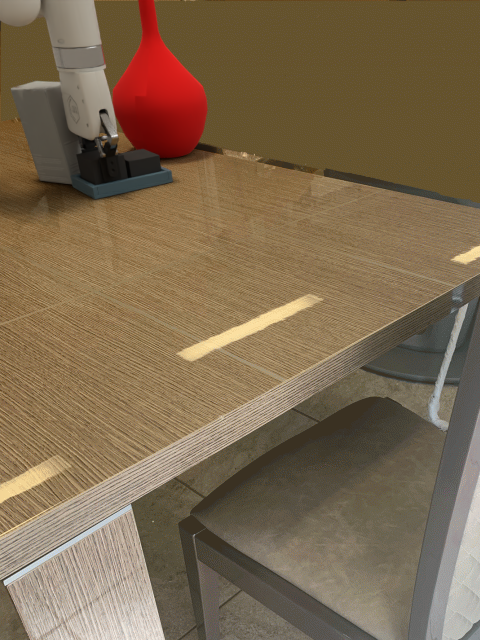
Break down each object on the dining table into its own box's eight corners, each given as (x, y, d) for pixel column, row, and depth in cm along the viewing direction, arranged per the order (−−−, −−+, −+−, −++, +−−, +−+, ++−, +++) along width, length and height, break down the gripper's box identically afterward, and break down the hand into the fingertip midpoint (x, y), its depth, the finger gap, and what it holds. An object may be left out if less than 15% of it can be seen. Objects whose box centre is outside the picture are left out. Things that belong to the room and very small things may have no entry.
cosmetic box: (96, 176, 119) (76, 81, 109) (69, 187, 114) (46, 88, 104) (61, 171, 122) (39, 77, 112) (33, 181, 117) (7, 84, 107)
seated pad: (132, 184, 113) (128, 161, 111) (117, 177, 117) (112, 154, 115) (162, 178, 116) (159, 155, 114) (146, 171, 120) (143, 148, 118)
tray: (95, 199, 109) (92, 187, 107) (72, 187, 114) (70, 175, 113) (173, 181, 116) (171, 170, 115) (148, 171, 122) (146, 160, 121)
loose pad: (96, 185, 109) (90, 161, 107) (81, 177, 113) (75, 154, 110) (128, 178, 112) (123, 154, 110) (112, 171, 116) (108, 148, 114)
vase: (106, 151, 133) (71, -24, 115) (181, 137, 143) (161, -27, 125) (150, 170, 122) (120, -20, 104) (229, 153, 132) (214, -24, 114)
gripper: (35, 55, 105) (63, 169, 116) (80, 67, 94) (105, 192, 105) (79, 50, 109) (102, 161, 119) (126, 62, 98) (147, 182, 109)
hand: (103, 174), depth 112 cm, fingers closed on loose pad, 6 cm apart
